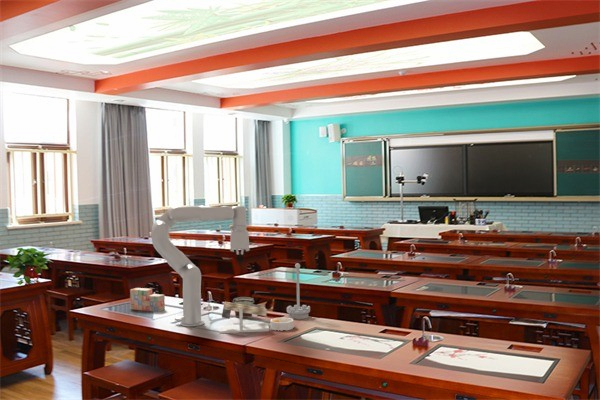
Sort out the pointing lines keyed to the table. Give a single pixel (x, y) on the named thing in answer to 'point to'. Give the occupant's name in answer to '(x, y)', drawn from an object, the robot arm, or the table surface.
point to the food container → (243, 301)
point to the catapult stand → (243, 326)
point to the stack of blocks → (146, 300)
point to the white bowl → (282, 324)
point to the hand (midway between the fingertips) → (240, 261)
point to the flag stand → (298, 303)
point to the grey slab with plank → (246, 309)
